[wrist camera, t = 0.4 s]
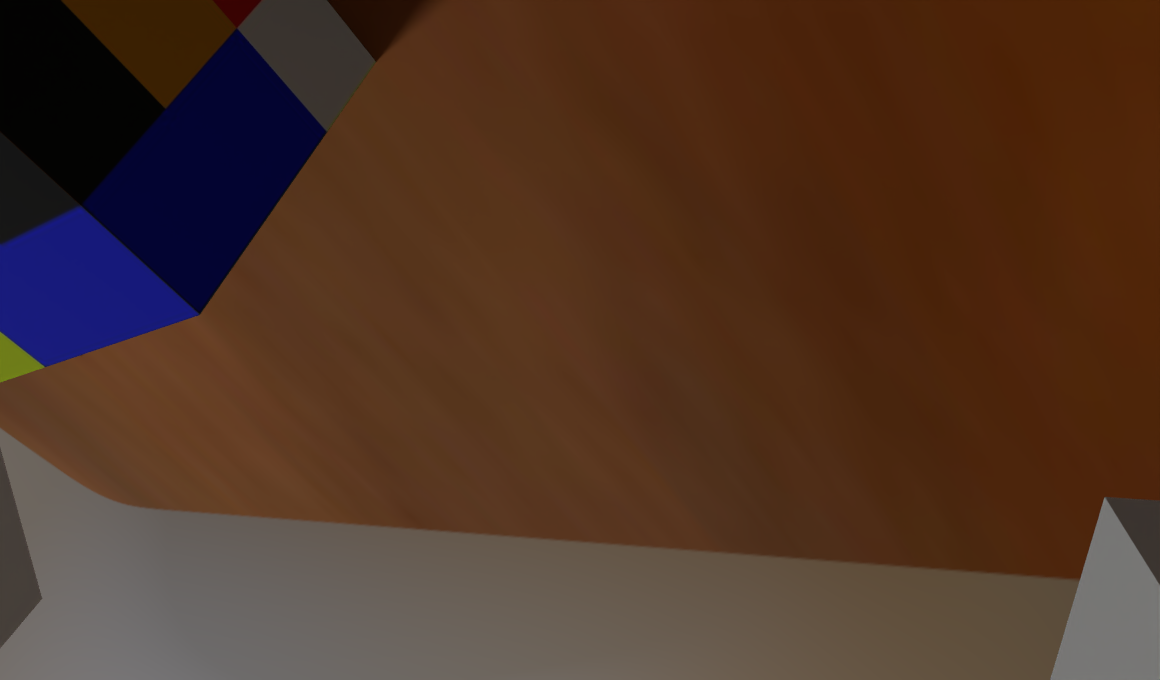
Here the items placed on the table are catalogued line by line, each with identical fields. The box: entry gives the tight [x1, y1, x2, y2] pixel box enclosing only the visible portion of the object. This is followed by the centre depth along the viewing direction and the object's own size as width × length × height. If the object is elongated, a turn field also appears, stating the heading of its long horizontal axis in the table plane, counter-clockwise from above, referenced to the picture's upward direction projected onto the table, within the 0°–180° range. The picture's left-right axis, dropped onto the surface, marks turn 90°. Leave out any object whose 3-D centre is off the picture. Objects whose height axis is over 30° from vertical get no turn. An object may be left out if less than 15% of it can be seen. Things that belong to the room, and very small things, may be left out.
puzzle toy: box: [0, 0, 376, 382], centre depth 26 cm, size 10×10×10 cm
